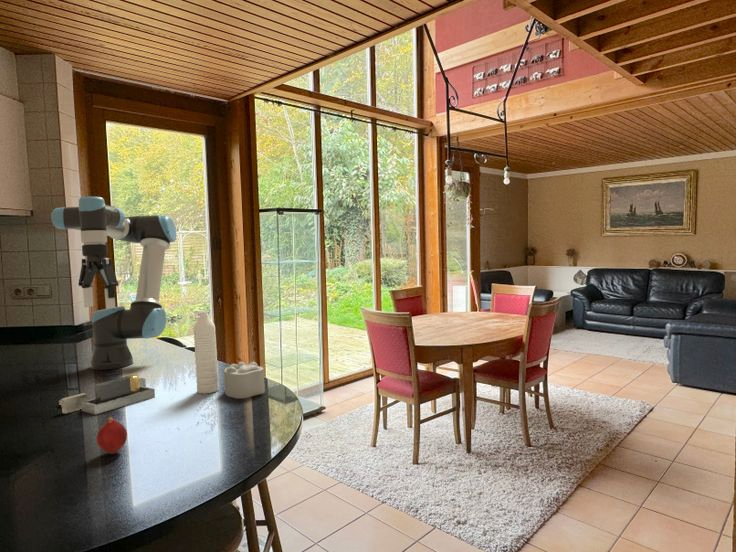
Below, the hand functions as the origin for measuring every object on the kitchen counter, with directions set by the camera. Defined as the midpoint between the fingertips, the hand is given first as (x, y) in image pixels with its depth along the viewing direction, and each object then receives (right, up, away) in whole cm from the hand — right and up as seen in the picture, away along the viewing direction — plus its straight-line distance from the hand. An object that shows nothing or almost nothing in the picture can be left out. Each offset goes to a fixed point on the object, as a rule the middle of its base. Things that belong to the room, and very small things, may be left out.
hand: (99, 307), depth 162 cm
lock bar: (+17, -27, -20) cm, 38 cm away
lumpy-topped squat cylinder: (+51, -25, -13) cm, 59 cm away
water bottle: (+39, -26, -10) cm, 48 cm away
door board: (+11, -27, -17) cm, 34 cm away
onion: (+34, -28, -57) cm, 72 cm away
